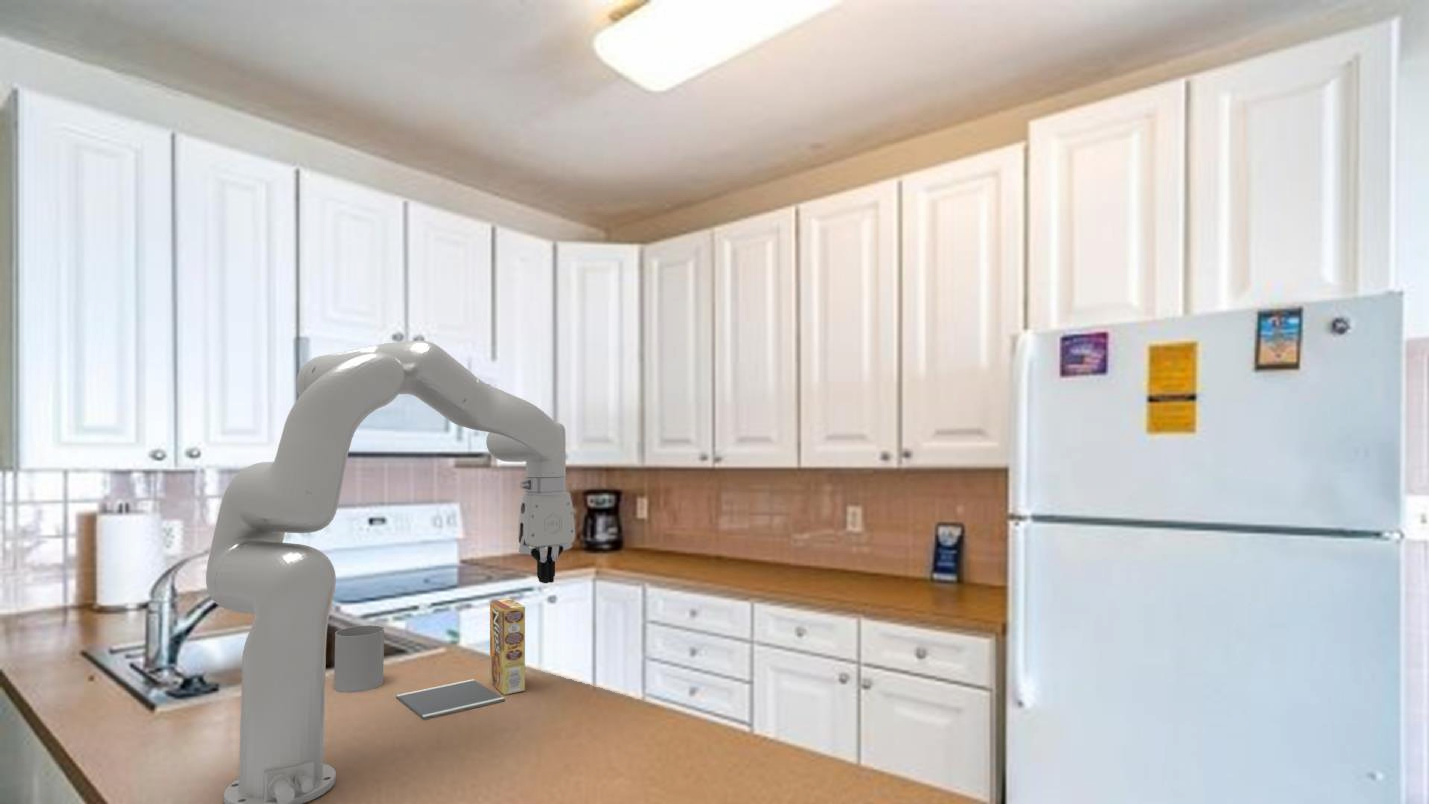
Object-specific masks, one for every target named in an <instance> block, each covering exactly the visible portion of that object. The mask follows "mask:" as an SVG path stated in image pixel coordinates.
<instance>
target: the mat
mask: <svg viewBox="0 0 1429 804" xmlns="http://www.w3.org/2000/svg"><path fill="white" fill-rule="evenodd" d="M395 695H396V696H395V698H396V699H397V700H398V701H399V702H400V703H402V704H403V705H404V706H405V707H407V708H409V710H411V711H412V712H413V713H414V714H416V715H417V716H419V717H420V719H422V720H428V719H429V720H430V719H432V718H433V719H434V718H438V717H441V716H446V715H450V714H454V713H459V712H463V711H468V710H472V709H476V708H481V707H485V706H489V705H493V704H498V703H499V704H500V703H502V702H503V703H504V702H506V698H505V697H504V696H501V695H499V694H498V693H496V692H494V691H492V690H491V689H489V688H488V687H486V686H484V685H483V684H481V683H480V682H478V681H476V680H475V679H473V678H472V679H468V680H462V681H457V682H454V683H453V682H452V683H448V684H443V685H439V686H435V687H434V686H433V687H428V688H424V689H419V690H415V691H410V692H403V693H400V694H395Z"/></svg>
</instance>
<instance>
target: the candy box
mask: <svg viewBox="0 0 1429 804" xmlns="http://www.w3.org/2000/svg"><path fill="white" fill-rule="evenodd" d="M489 629H490V630H489V670H490V671H489V677H490V678H489V683H491V685H492V686H493V687H495V688H496V689H497V690H498V691H499V692H500V693H502V694H503V695H505V696H506V695H510V694H515V693H520V692H525V691H526V607H525V605H523V604H521V603H520V602H518V601H514V600H513V599H511V598H504V599H503V598H502V599H495V600H490V601H489Z"/></svg>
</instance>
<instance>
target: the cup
mask: <svg viewBox="0 0 1429 804" xmlns="http://www.w3.org/2000/svg"><path fill="white" fill-rule="evenodd" d="M334 637H335V639H334V668H333V669H334V671H333V673H334V675H333V676H334V677H333V690H334V691H335V692H338V693H346V694H347V693H349V694H350V693H360V692H366V691H370V690H375V689H377V688H379V687H381V686H382V685H384V663H385V662H384V661H385V659H384V658H385V656H384V654H385V651H384V650H385V628H384V626H380V625H370V624H369V625H357V626H356V625H355V626H349V627H345V628H341V629H339V630H337V631H335V636H334Z"/></svg>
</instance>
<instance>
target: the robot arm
mask: <svg viewBox="0 0 1429 804" xmlns="http://www.w3.org/2000/svg"><path fill="white" fill-rule="evenodd" d="M295 385H296V391H297V394H298V396H299V397H298V399H297V400H296V401H295V403H294V404H293V405H292V408H291V409H290V411H289V413H288V415H287V417H286V420H285V421H284V426H283V428H282V429H283V430H282V433H281V437H280V441H279V443H278V447H277V451H276V454H275V458H274V461H263V462H257V463H253V464H252V465H249V466H246V467H244V468H243V469H242V470H241V471H239V472H238V473H237V474H236V475H235V476H234V477H233V479H231V481H230V482H229V484H228V486H227V487H226V489H225V490H224V493H223V496H222V499H221V503H220V507H219V510H218V514H217V519H216V523H215V527H214V532H213V537H212V540H211V541H212V542H211V545H210V550H209V553H208V554H209V555H208V560H207V565H206V571H205V572H206V573H205V584H206V589H207V592H208V596H209V597H210V599H211V600H212V601H213V602H214V603H215V604H216V605H217V606H219V607H220V608H222V609H224V610H228V611H232V612H236V613H240V614H241V613H242V614H249V615H254V618H253V621H252V625H251V628H250V629H249V632H248V634H247V637H246V639H245V640H246V641H245V643H244V646H243V651H242V661H241V692H240V693H241V696H240V697H241V699H240V728H239V734H240V735H239V758H238V759H239V761H238V762H239V763H238V778H237V779H236V780H235V781H233V782H232V783H231V784H229V785H228V786H227V787H226V789H225V790H224V792H223V804H306V803H308V802H311V801H313V800H316V799H317V798H319V797H321V796H323V795H324V794H326V793H327V792H328V791H329V790H331V788H333V787H334V786H335V783H336V781H337V778H336V777H337V776H336V775H337V772H336V770H335V768H334V767H332V766H331V765H329V764H326V763H324V742H325V741H324V740H325V709H326V708H325V707H326V706H325V705H326V700H325V699H326V671H327V670H326V669H327V668H326V665H327V662H326V659H327V658H326V656H327V654H326V653H327V633H328V624H329V618H330V613H331V608H332V605H333V600H334V596H335V593H336V592H335V591H336V586H337V585H336V583H337V582H336V581H337V578H336V570H335V567H334V565H333V563H332V561H331V559H330V558H329V557H328V556H327V554H325V553H324V552H323V551H321V550H319V549H317V548H315V547H312V546H309V545H306V544H300V543H291V542H289V543H288V542H284V539H285V534H310V533H315V532H318V531H321V530H323V529H326V527H328V526H329V525H330V524H331V523H332V521H333V520H334V518H335V515H336V514H337V510H338V507H339V503H340V498H341V497H340V496H341V493H342V486H343V484H344V483H343V482H344V478H345V477H344V476H345V471H346V467H347V460H348V456H349V451H350V447H351V444H352V441H353V438H354V435H355V433H356V431H357V429H358V427H359V426H360V425H361V424H362V422H363V421H364V420H365V419H366V418H367V417H368V416H369V415H371V414H372V413H374V412H375V411H376V410H378V409H381V408H383V407H386V406H387V405H389V404H390V403H391V402H393V401H394V400H395V399H396V398H397V397H398V396H399V395H407V394H408V395H412V396H414V397H416V398H417V399H419V400H420V401H421V402H423V403H425V405H427V406H429V407H430V408H431V409H433V410H435V411H436V412H437V413H439V415H441V416H443V417H444V418H446V419H447V420H449V421H450V422H451V423H453V424H454V425H457V426H460V427H463V428H466V429H470V430H474V431H480V432H486V433H487V435H486V441H485V442H486V443H485V444H486V449H487V450H488V452H489V454H490V455H491V456H492V457H494V458H495V459H497V460H499V461H502V462H508V463H513V462H515V463H523V462H525V478H524V480H523V481H520V482H519V488H520V490H521V489H524V492H525V493H523V495H522V498H521V503H520V509H519V515H518V516H519V517H518V530H517V531H518V542H519V544H520V545H519V548H518V552H519V553H520V554H525V555H529V556H531V557H532V558H533V559H534V561H536V576H537V579H538V582H540V583H542V584H549V583H551V584H552V583H554V581H555V580H554V579H555V575H556V562H557V561H558V558H559V557H560V555H561V554H562V552H563V551H566V550H569V549H571V548H572V547H573V544H572V543H573V542H574V541H575V537H576V531H575V530H576V529H575V527H576V526H575V514H574V507H573V506H574V505H573V502H572V497H571V493H570V492H567V490H566V489H567V488H566V478H567V475H566V472H567V471H566V468H567V466H566V461H567V460H566V458H567V457H566V452H567V451H566V444H567V441H566V440H567V439H566V438H567V437H566V436H567V435H566V428H565V425H564V424H562V423H560V422H555V421H554V420H553V418H552V417H550V416H549V415H548V414H546V413H545V412H544V411H543V410H542V409H541V408H539V407H538V406H536V405H535V404H533V403H531V402H529V401H527V400H525V399H523V398H520V397H518V396H516V395H514V394H511V393H508V392H506V391H504V390H502V389H499V388H497V387H495V386H492V385H489V384H487V383H485V382H484V381H482V380H481V379H480V378H479V377H478V376H477V375H475V374H474V373H473V372H471V371H470V370H469V369H468V368H466V367H465V366H464V365H462V364H461V363H460V362H459V361H458V360H456V359H455V358H454V357H453V356H451V355H450V354H449V353H448V352H447V351H445V350H444V349H443V348H441V347H440V346H439V345H438V344H436V343H434V342H431V341H429V340H428V341H427V340H407V341H406V340H405V341H398V342H397V341H395V342H386V343H381V344H380V343H379V344H375V345H370V346H367V347H362V348H357V349H352V350H346V351H345V350H344V351H341V352H336V353H331V354H323V355H319V356H316V357H314V358H311V359H310V360H308V361H307V362H305V364H304V365H303V366H301V368H300V370H299V372H298V374H297V377H296V384H295Z"/></svg>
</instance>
